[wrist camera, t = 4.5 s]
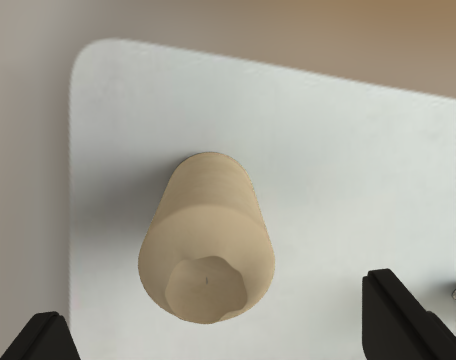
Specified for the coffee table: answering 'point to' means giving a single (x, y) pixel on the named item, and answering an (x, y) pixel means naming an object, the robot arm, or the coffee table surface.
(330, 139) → the coffee table surface
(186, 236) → the candle
